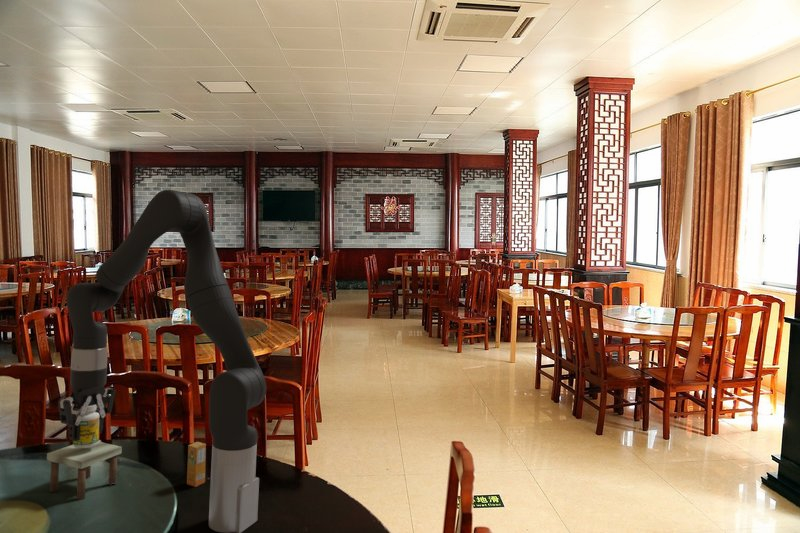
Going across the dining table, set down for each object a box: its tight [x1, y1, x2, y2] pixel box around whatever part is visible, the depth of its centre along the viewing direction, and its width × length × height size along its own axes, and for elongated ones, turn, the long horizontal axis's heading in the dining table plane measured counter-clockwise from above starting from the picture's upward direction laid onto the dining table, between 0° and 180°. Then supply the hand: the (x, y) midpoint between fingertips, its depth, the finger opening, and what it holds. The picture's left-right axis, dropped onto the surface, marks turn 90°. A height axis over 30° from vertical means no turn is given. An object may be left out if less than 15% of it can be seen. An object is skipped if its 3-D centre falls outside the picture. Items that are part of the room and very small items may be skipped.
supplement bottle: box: [72, 404, 100, 448], centre depth 129 cm, size 5×5×10 cm
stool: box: [46, 441, 123, 501], centre depth 130 cm, size 11×11×9 cm
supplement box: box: [186, 441, 207, 488], centre depth 135 cm, size 3×3×10 cm
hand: (86, 436), depth 129 cm, fingers closed on supplement bottle, 5 cm apart
